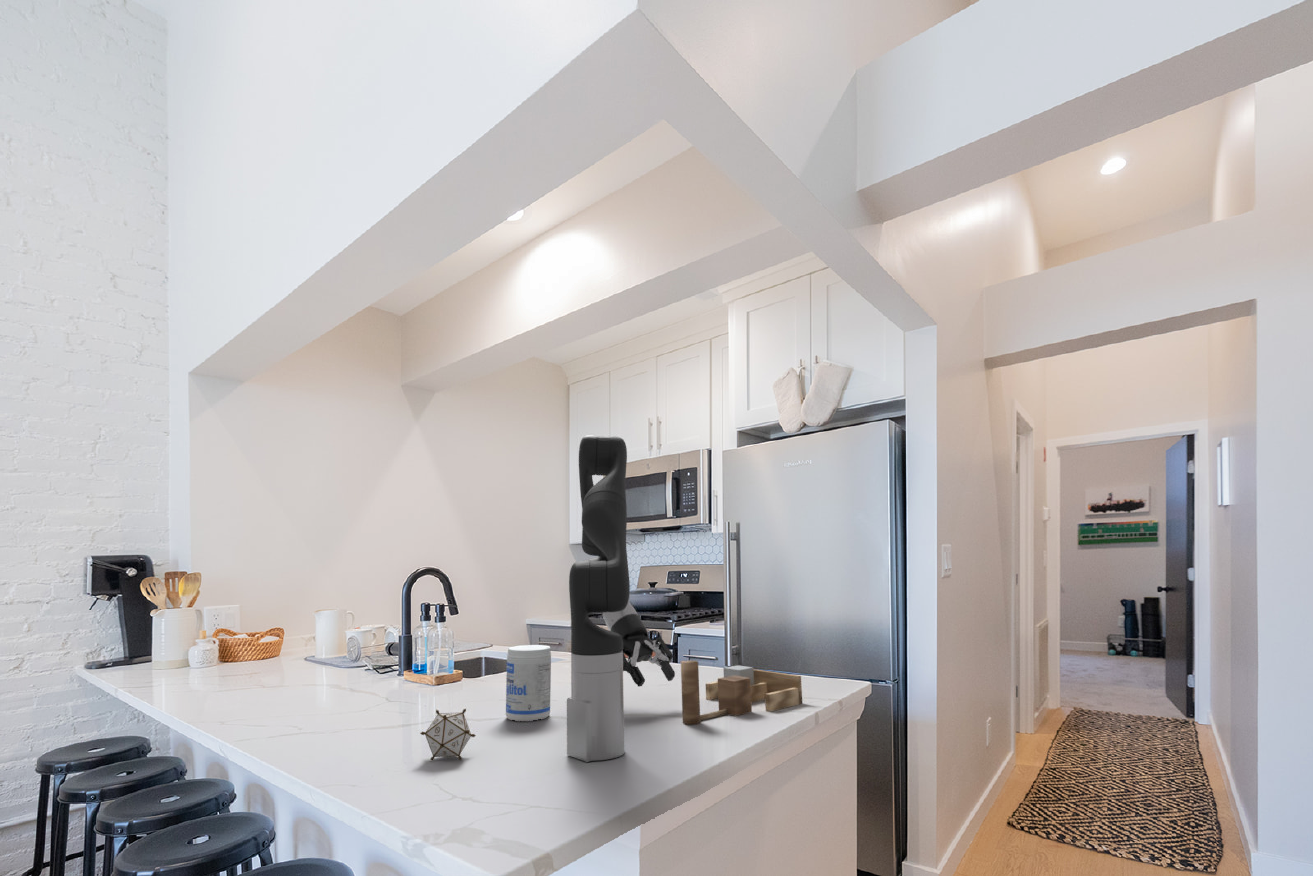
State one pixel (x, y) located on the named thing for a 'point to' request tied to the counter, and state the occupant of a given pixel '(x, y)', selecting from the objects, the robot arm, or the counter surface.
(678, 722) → the counter surface
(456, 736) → the game die
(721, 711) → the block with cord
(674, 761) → the counter surface
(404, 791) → the counter surface
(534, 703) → the supplement tub
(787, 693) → the lane shelf
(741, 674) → the grey block
